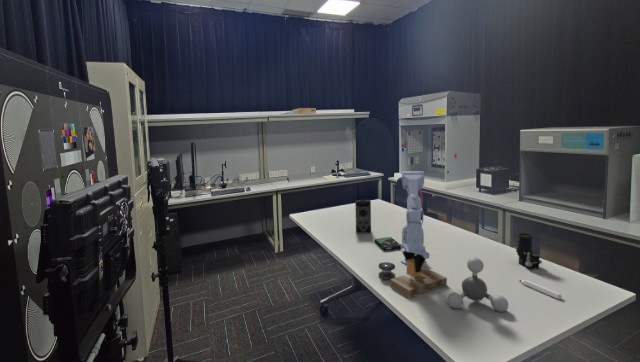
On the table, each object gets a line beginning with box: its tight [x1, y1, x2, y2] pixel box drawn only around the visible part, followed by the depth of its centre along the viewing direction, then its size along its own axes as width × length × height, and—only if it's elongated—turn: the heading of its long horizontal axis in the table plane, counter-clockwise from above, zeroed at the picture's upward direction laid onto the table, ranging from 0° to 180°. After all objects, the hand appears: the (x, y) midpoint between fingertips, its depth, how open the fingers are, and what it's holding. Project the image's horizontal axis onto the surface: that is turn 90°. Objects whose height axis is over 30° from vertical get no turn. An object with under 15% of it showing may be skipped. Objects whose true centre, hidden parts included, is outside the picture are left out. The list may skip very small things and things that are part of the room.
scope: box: [515, 232, 543, 271], centre depth 149 cm, size 8×14×10 cm
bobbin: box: [378, 261, 396, 281], centre depth 143 cm, size 7×7×5 cm
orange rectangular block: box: [406, 258, 421, 278], centre depth 135 cm, size 4×4×6 cm
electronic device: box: [355, 199, 372, 234], centre depth 204 cm, size 9×6×20 cm, turn 81°
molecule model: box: [446, 256, 509, 313], centre depth 119 cm, size 20×16×20 cm
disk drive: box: [374, 236, 402, 252], centre depth 181 cm, size 10×3×15 cm
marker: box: [518, 279, 562, 300], centre depth 127 cm, size 3×2×16 cm
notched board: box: [390, 268, 448, 299], centre depth 134 cm, size 20×11×3 cm, turn 117°
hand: (414, 269), depth 135 cm, fingers closed on orange rectangular block, 4 cm apart
